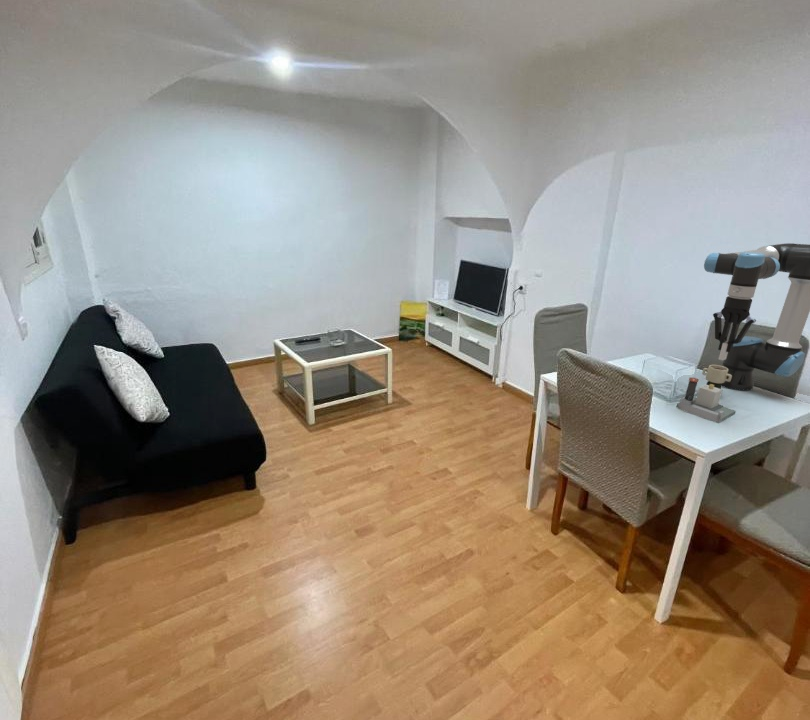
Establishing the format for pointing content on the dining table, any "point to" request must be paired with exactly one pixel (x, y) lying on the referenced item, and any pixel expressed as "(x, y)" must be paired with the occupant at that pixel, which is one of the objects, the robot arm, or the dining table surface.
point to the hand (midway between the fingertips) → (722, 359)
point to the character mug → (716, 375)
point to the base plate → (707, 411)
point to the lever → (690, 391)
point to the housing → (708, 396)
